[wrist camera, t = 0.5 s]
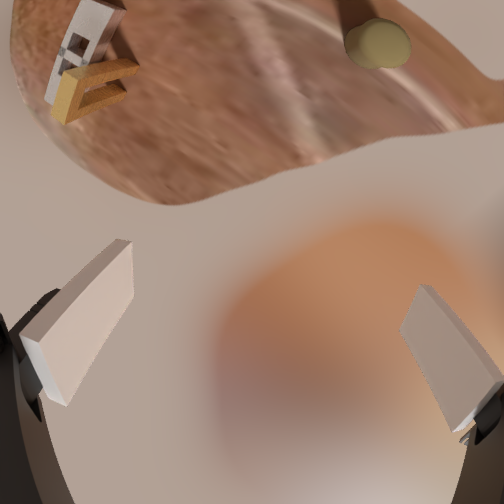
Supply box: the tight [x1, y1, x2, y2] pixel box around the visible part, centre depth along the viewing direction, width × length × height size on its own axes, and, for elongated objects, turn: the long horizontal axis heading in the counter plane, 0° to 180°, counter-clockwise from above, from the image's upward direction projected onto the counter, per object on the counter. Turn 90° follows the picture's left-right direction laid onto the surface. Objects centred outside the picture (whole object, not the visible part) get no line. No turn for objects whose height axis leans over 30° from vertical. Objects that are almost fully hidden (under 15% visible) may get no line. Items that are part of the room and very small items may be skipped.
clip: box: [51, 58, 140, 125], centre depth 29 cm, size 3×6×13 cm, turn 143°
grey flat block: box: [44, 0, 127, 106], centre depth 30 cm, size 8×20×3 cm, turn 143°
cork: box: [344, 18, 411, 69], centre depth 21 cm, size 6×6×11 cm
